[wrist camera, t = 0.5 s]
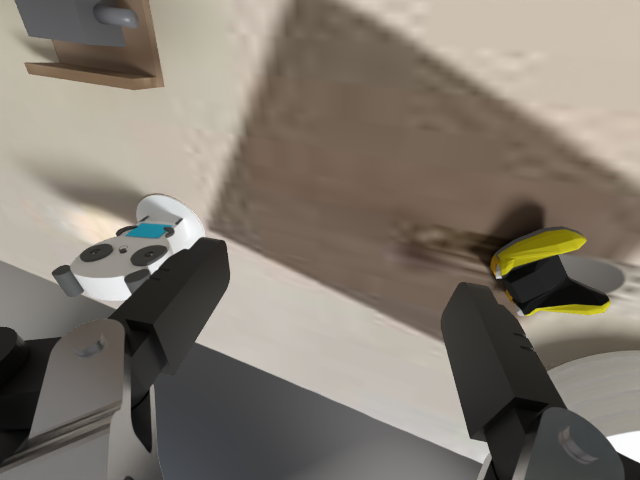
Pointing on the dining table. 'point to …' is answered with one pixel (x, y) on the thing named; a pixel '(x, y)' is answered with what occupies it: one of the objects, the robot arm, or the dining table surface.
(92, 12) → the cord plug
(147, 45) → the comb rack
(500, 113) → the dining table surface
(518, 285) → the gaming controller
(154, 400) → the robot arm
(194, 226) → the panda figurine
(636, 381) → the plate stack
